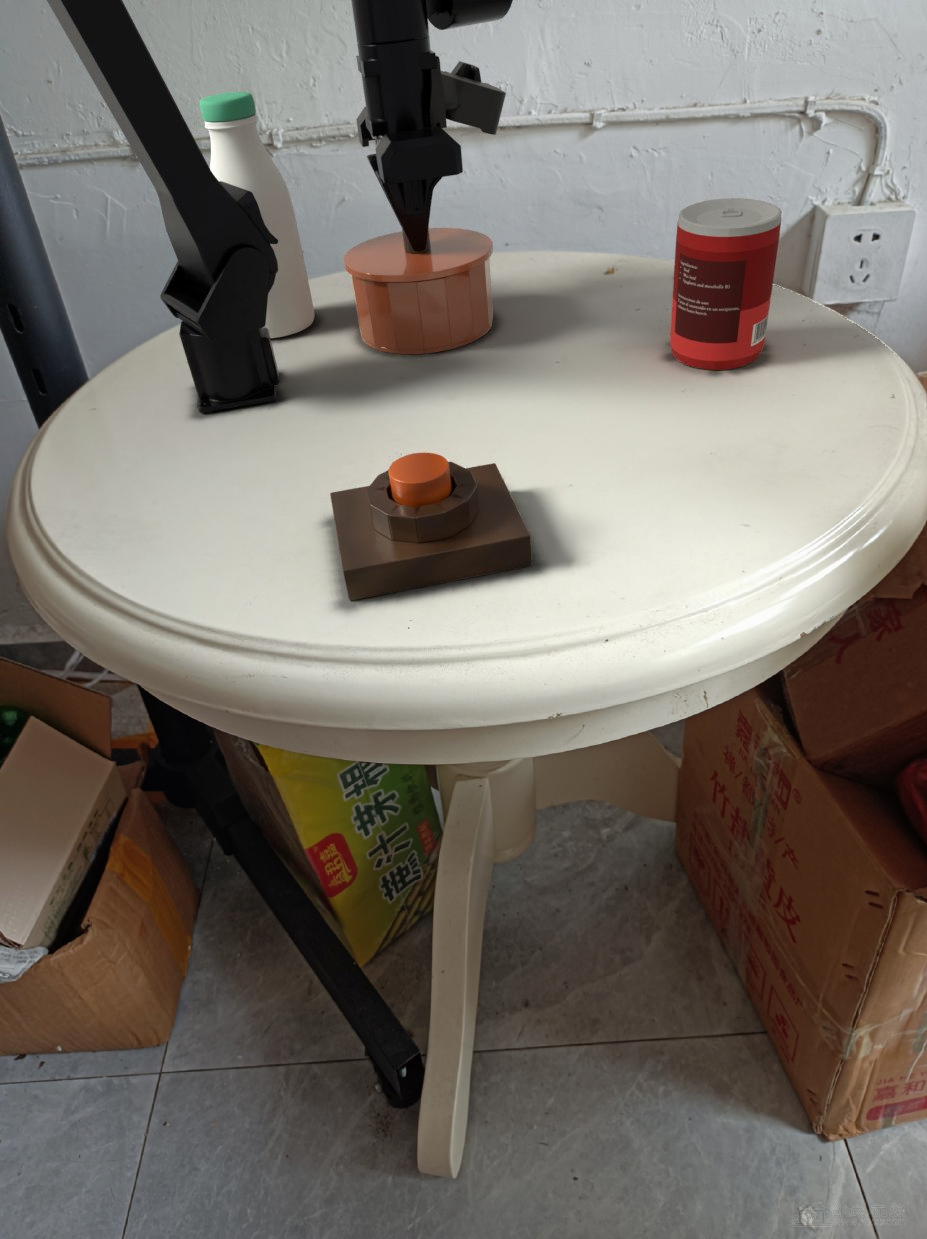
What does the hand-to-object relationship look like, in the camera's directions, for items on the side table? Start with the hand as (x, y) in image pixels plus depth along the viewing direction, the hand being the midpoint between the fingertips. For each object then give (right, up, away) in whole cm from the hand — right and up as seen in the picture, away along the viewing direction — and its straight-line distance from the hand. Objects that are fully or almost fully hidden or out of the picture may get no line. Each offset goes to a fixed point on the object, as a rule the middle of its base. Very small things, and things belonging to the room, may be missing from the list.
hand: (417, 246), depth 78 cm
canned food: (+25, -11, -5) cm, 28 cm away
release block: (+2, -29, -24) cm, 37 cm away
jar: (+1, -6, +5) cm, 8 cm away
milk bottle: (-14, -4, +9) cm, 17 cm away
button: (+2, -26, -26) cm, 37 cm away
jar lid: (0, -1, +1) cm, 1 cm away
